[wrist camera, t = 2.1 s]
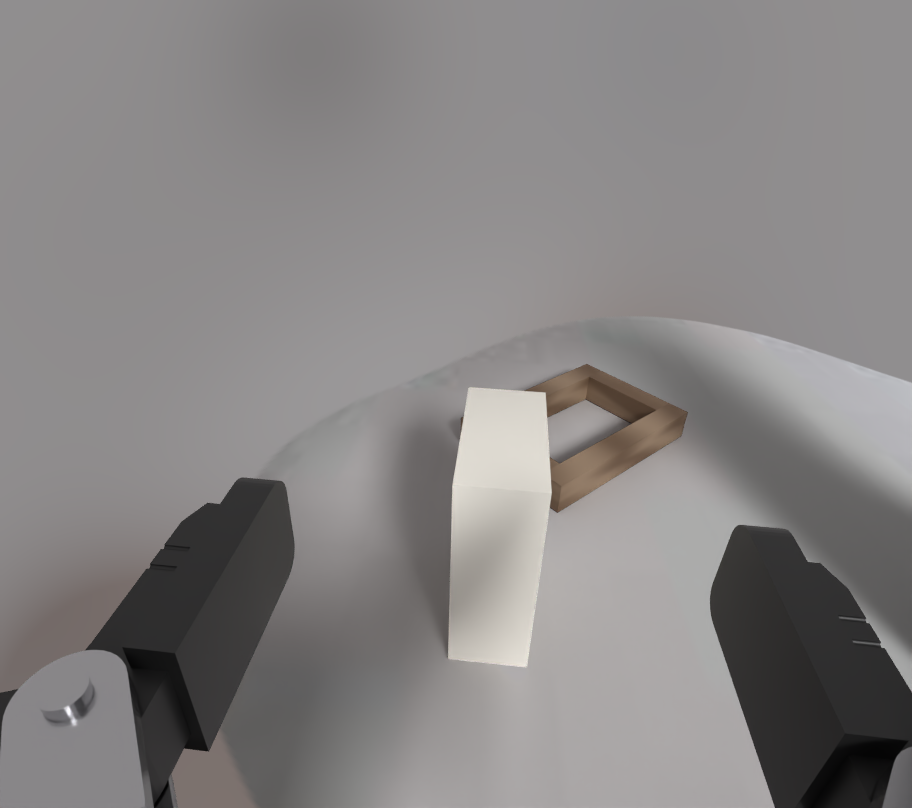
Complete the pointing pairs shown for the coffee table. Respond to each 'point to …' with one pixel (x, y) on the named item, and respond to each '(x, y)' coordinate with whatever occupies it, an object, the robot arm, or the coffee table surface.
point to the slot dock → (617, 452)
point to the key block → (498, 525)
